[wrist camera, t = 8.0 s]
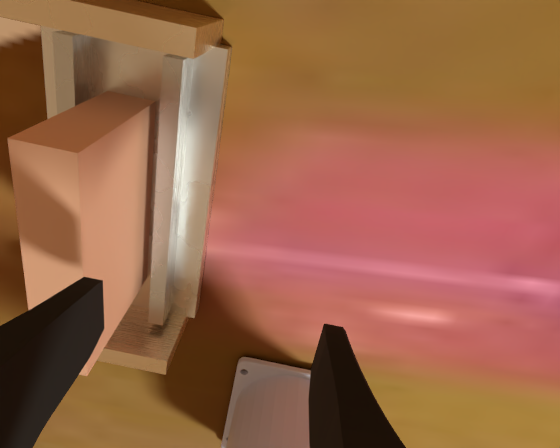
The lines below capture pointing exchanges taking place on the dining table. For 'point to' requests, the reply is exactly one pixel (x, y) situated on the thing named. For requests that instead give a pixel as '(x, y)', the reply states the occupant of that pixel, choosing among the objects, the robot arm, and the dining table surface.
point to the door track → (167, 139)
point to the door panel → (86, 201)
